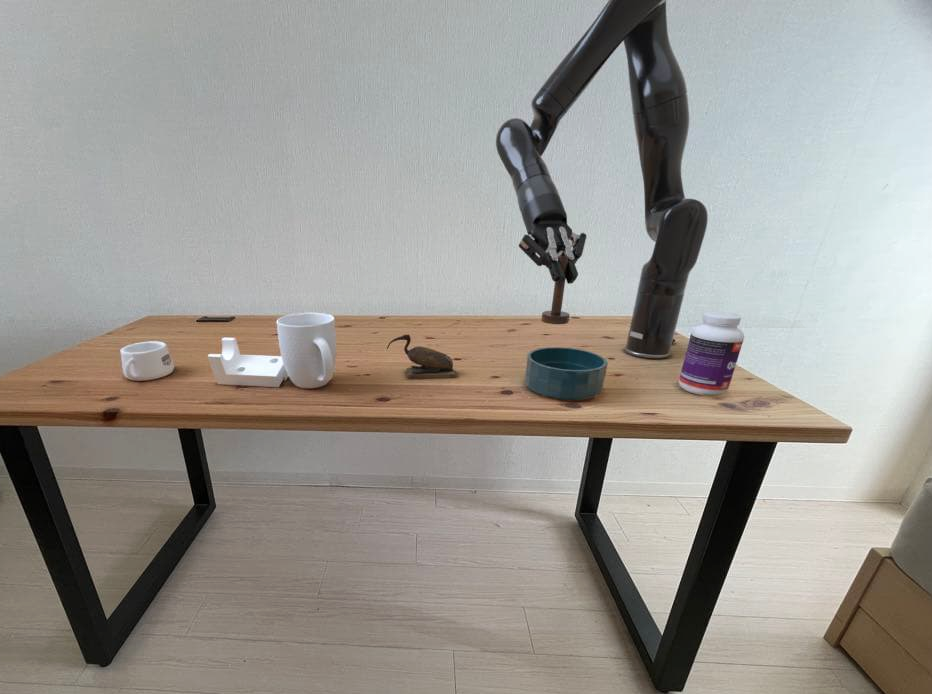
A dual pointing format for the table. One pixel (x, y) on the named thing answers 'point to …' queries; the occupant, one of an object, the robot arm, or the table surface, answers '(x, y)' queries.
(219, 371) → the bracket
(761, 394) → the table surface
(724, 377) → the pill bottle
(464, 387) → the table surface
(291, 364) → the mug
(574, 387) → the bowl
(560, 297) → the brown peg
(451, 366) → the figurine
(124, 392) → the table surface
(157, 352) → the mug
